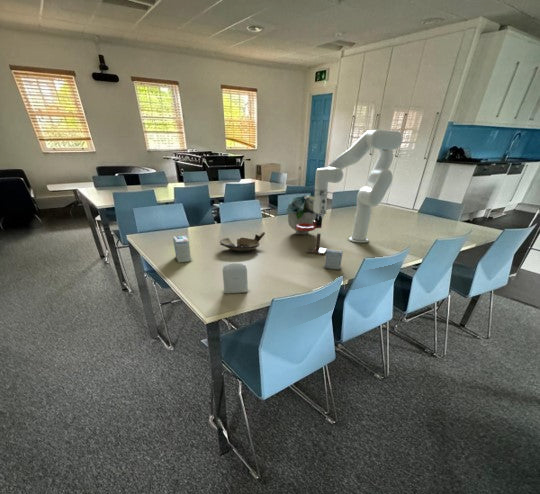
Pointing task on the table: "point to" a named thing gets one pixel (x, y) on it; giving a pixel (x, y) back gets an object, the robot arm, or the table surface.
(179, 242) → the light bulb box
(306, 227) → the ring
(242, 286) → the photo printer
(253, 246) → the oil lamp
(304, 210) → the flower arrangement
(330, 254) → the medicine box
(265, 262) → the table surface
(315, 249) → the post
